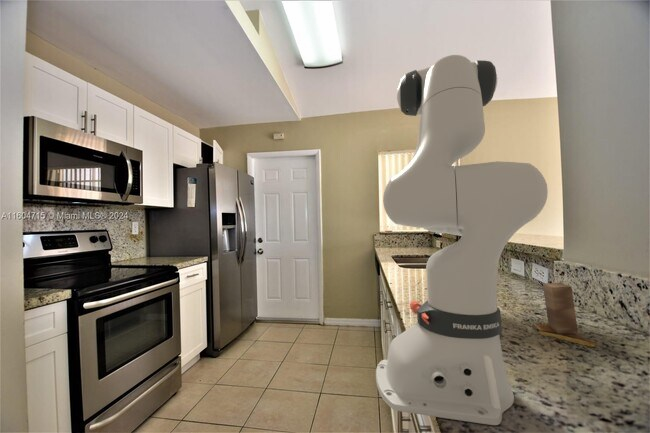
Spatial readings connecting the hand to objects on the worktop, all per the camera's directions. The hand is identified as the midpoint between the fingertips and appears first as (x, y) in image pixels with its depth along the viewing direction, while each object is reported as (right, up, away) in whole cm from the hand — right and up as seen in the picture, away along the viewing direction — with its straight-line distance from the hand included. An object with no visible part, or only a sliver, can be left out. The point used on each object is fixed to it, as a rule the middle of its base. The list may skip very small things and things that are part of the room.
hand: (505, 225), depth 76 cm
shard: (+7, -27, -11) cm, 30 cm away
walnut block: (+6, -25, -11) cm, 28 cm away
